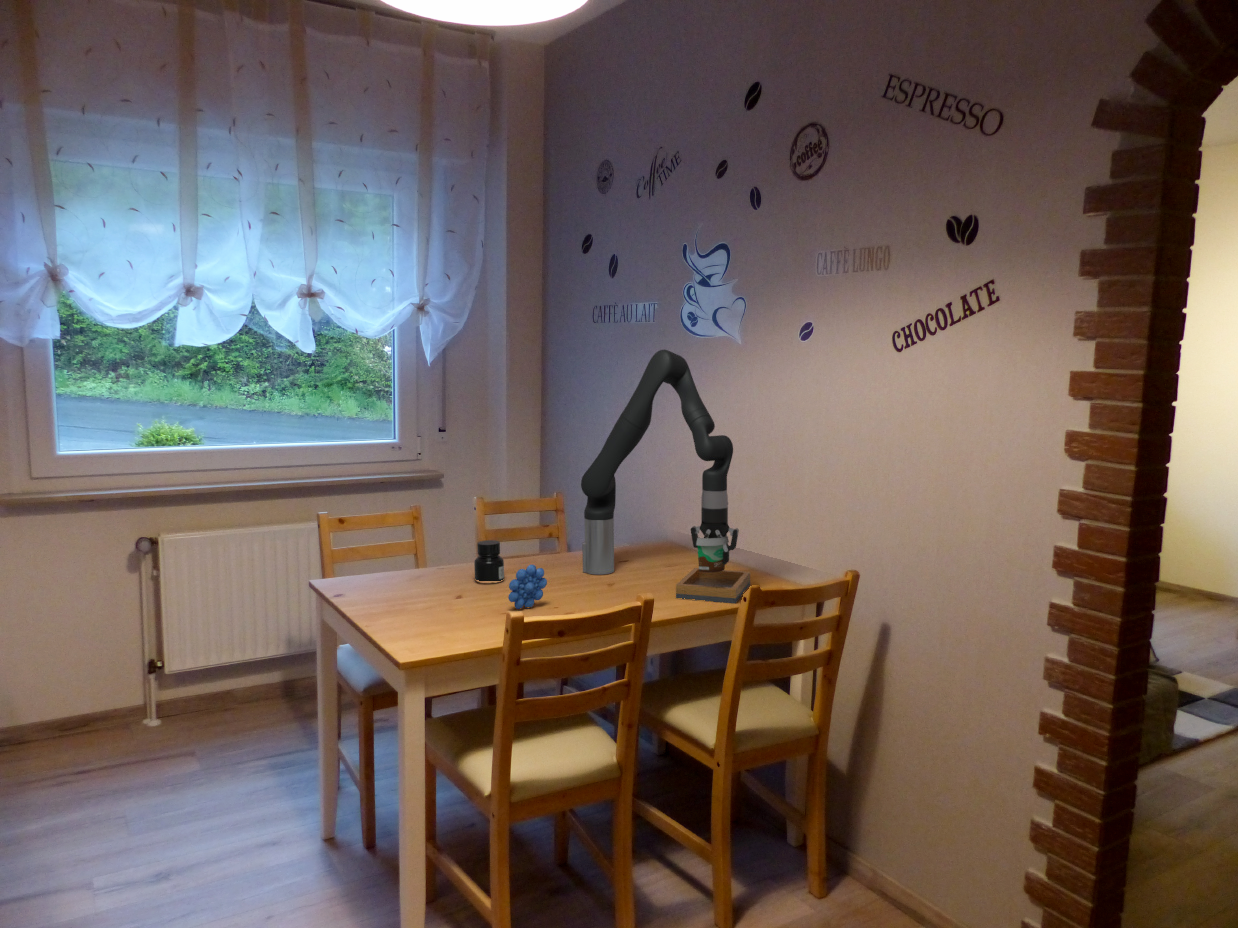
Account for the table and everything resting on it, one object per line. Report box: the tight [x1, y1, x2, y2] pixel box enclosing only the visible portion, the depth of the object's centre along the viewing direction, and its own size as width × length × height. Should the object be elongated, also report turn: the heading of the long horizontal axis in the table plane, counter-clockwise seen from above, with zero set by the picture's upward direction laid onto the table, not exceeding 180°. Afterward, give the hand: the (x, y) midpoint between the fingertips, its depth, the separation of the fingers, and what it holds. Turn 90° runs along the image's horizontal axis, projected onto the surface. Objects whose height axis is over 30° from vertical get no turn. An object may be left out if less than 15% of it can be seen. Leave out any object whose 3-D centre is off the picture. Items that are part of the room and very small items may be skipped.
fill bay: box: [675, 567, 751, 605], centre depth 263 cm, size 17×21×4 cm
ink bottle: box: [473, 539, 505, 581], centre depth 277 cm, size 10×9×12 cm
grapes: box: [507, 564, 548, 610], centre depth 248 cm, size 12×7×12 cm, turn 123°
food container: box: [696, 533, 730, 572], centre depth 262 cm, size 12×6×10 cm, turn 144°
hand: (714, 562), depth 263 cm, fingers closed on food container, 5 cm apart
